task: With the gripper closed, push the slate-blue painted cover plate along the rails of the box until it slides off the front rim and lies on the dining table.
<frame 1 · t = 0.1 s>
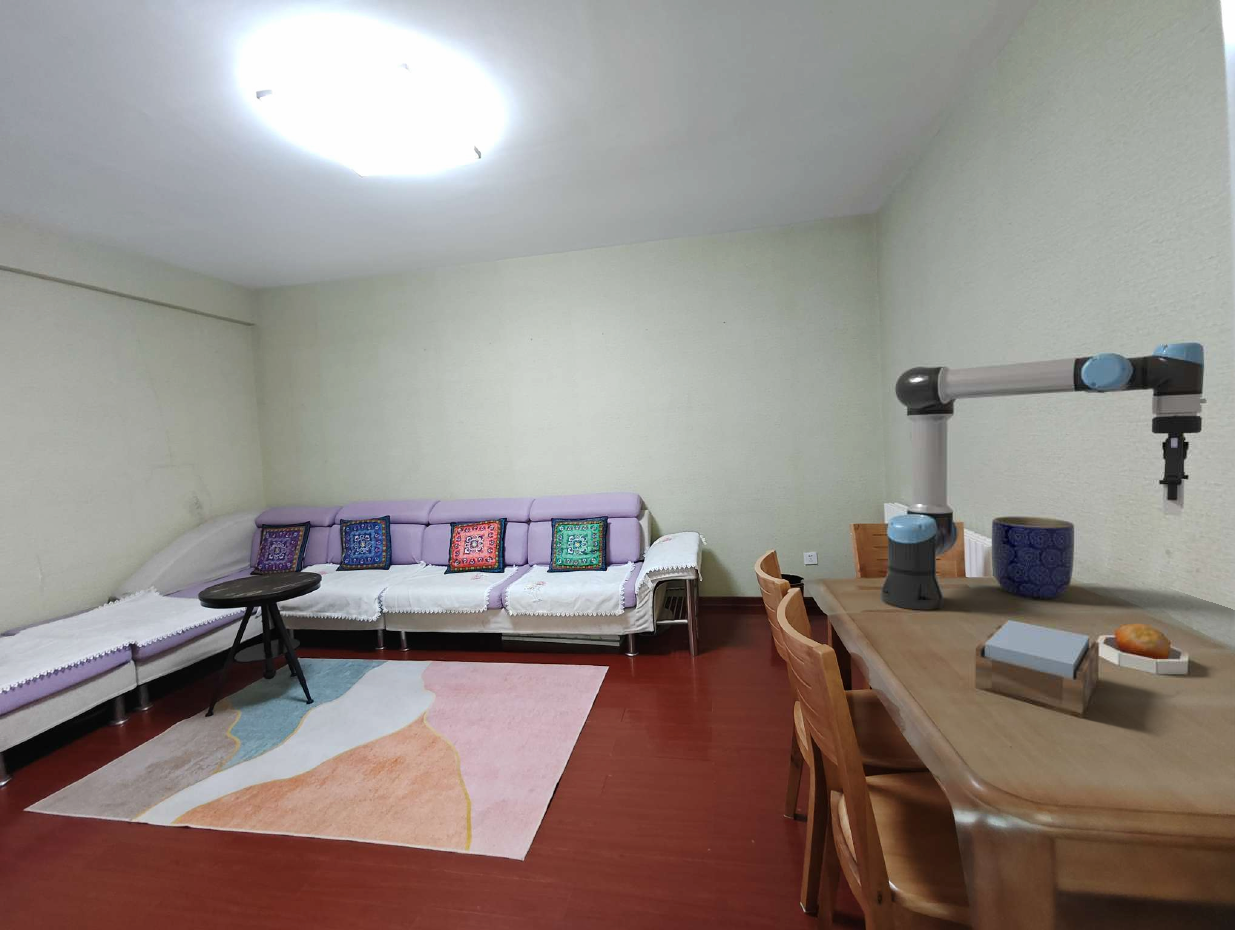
hand: (1173, 511, 118), 28 cm above the table, fingers open, 13 cm apart
planter: (1030, 593, 152), on the table
fruit ring: (1140, 659, 108), on the table
box: (1036, 684, 99), on the table
lid: (1037, 653, 98), point 6 cm above the table, touching box
fruit: (1140, 660, 108), on the table
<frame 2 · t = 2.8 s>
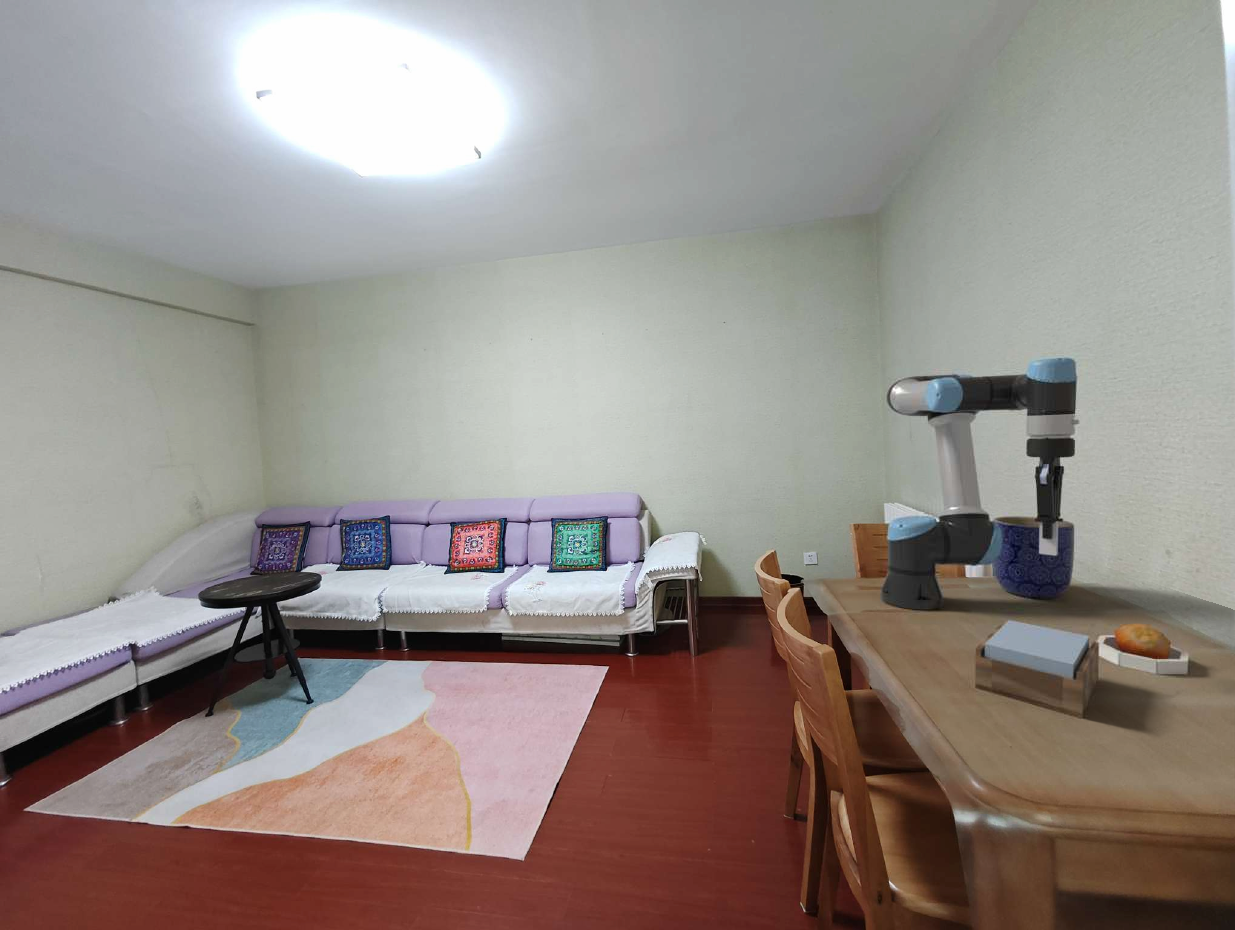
hand: (1048, 553, 107), 22 cm above the table, fingers closed
nothing on the table moved.
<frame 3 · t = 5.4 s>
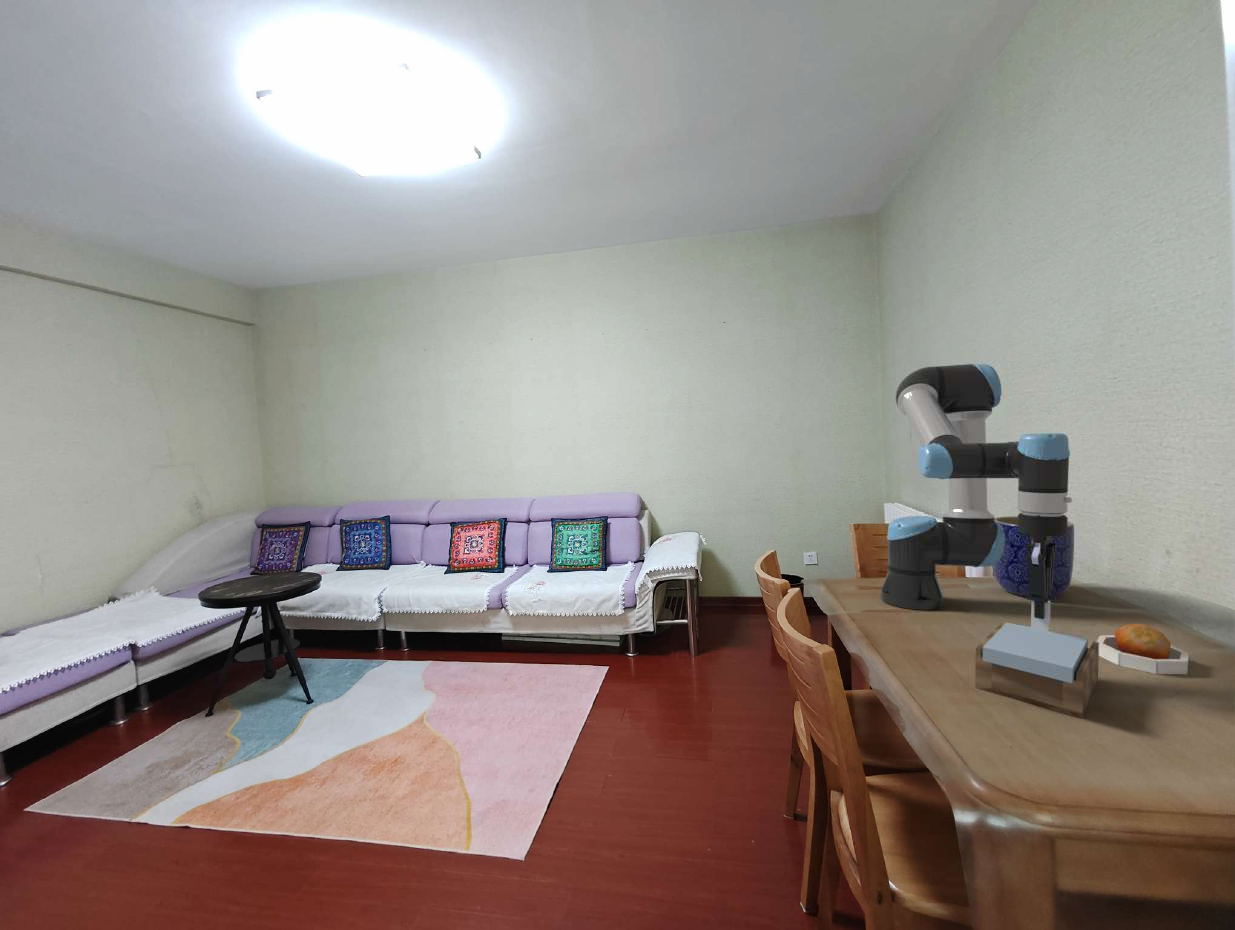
hand: (1040, 633, 104), 8 cm above the table, fingers closed
lid: (1035, 656, 97), point 6 cm above the table, touching box, gripper
everything else where it was.
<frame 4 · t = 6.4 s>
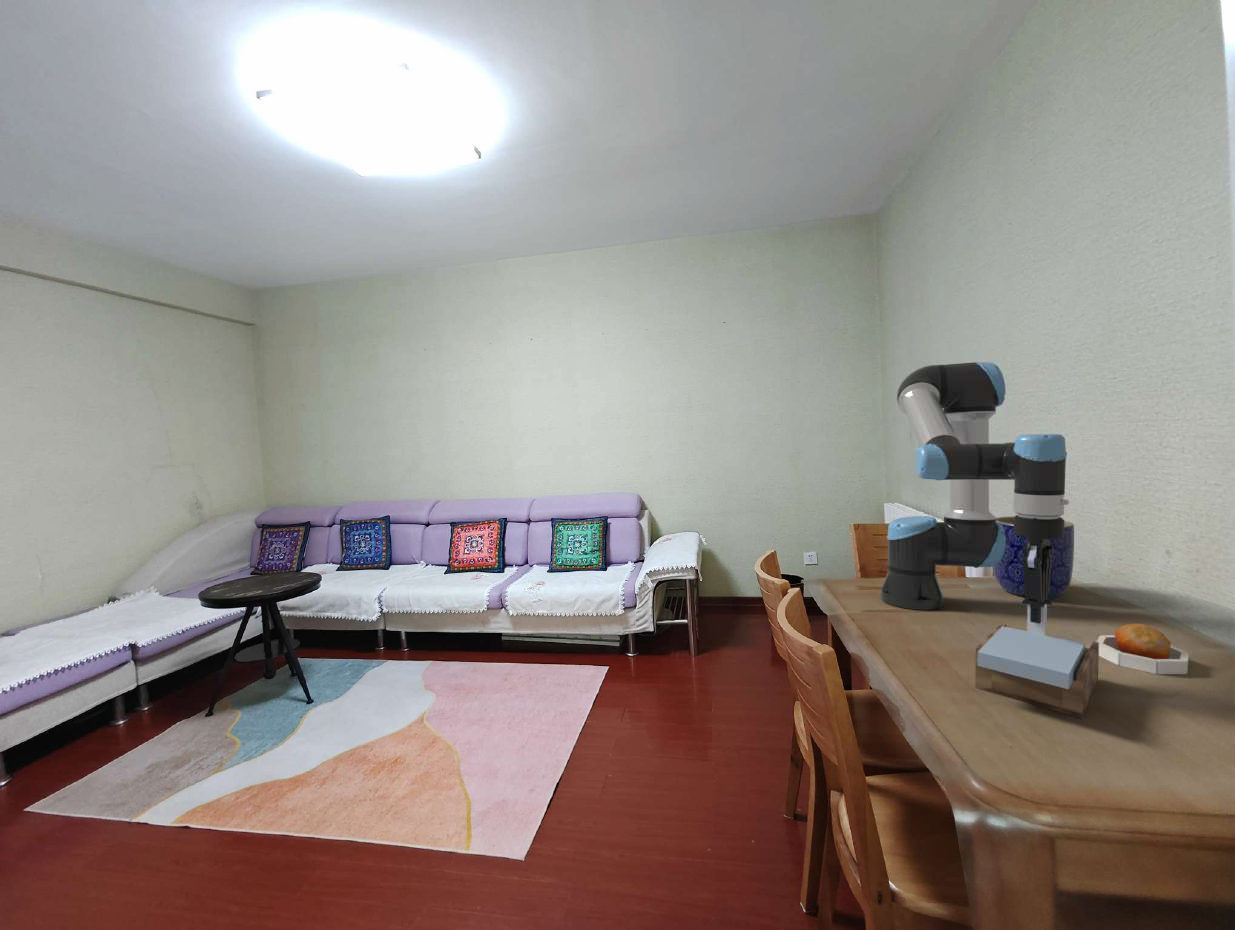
hand: (1036, 637, 102), 7 cm above the table, fingers closed
lid: (1031, 661, 95), point 6 cm above the table
everything else where it was.
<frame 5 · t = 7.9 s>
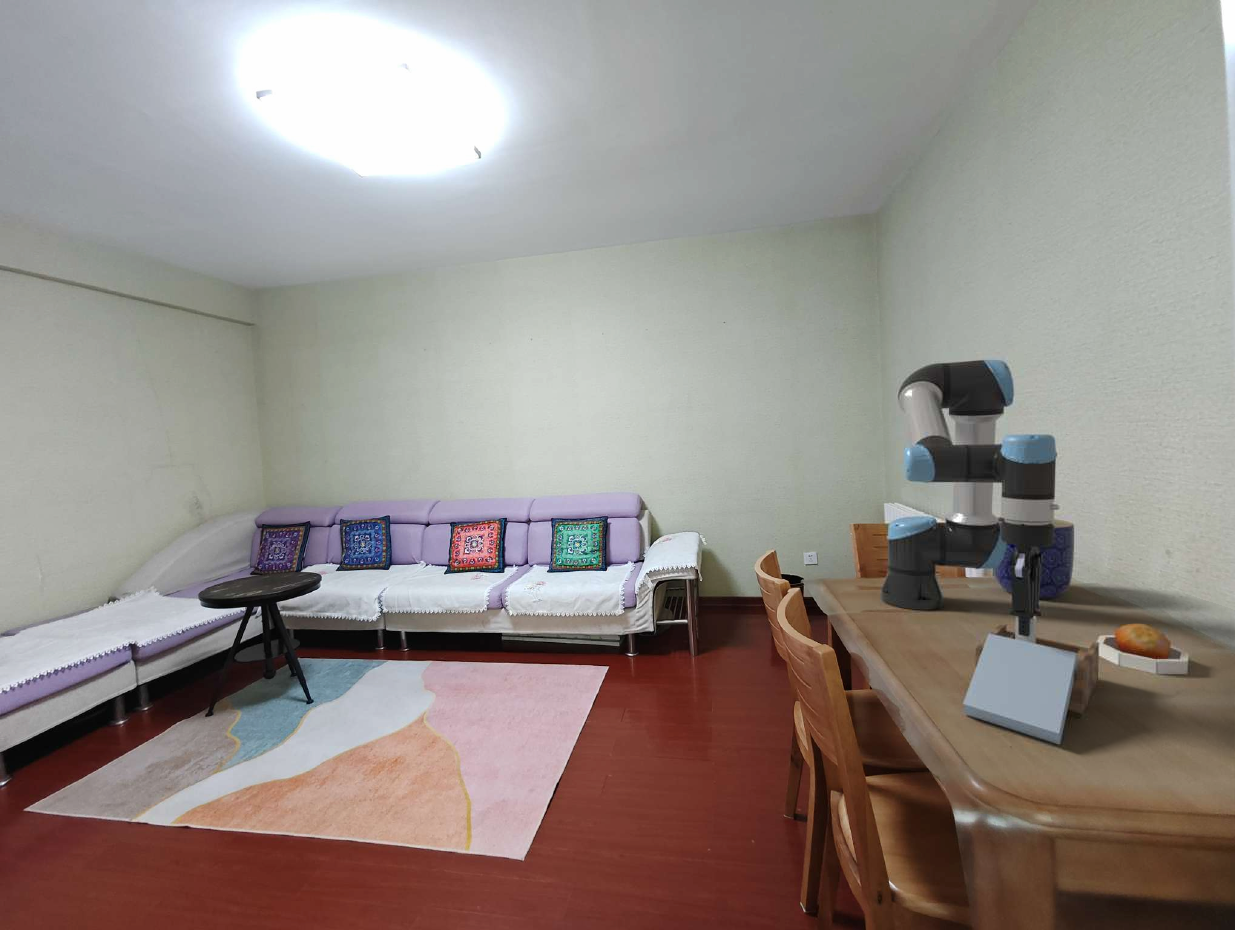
hand: (1025, 651, 96), 8 cm above the table, fingers closed
lid: (1021, 688, 90), point 4 cm above the table, tilted 27°, touching gripper
everything else where it was.
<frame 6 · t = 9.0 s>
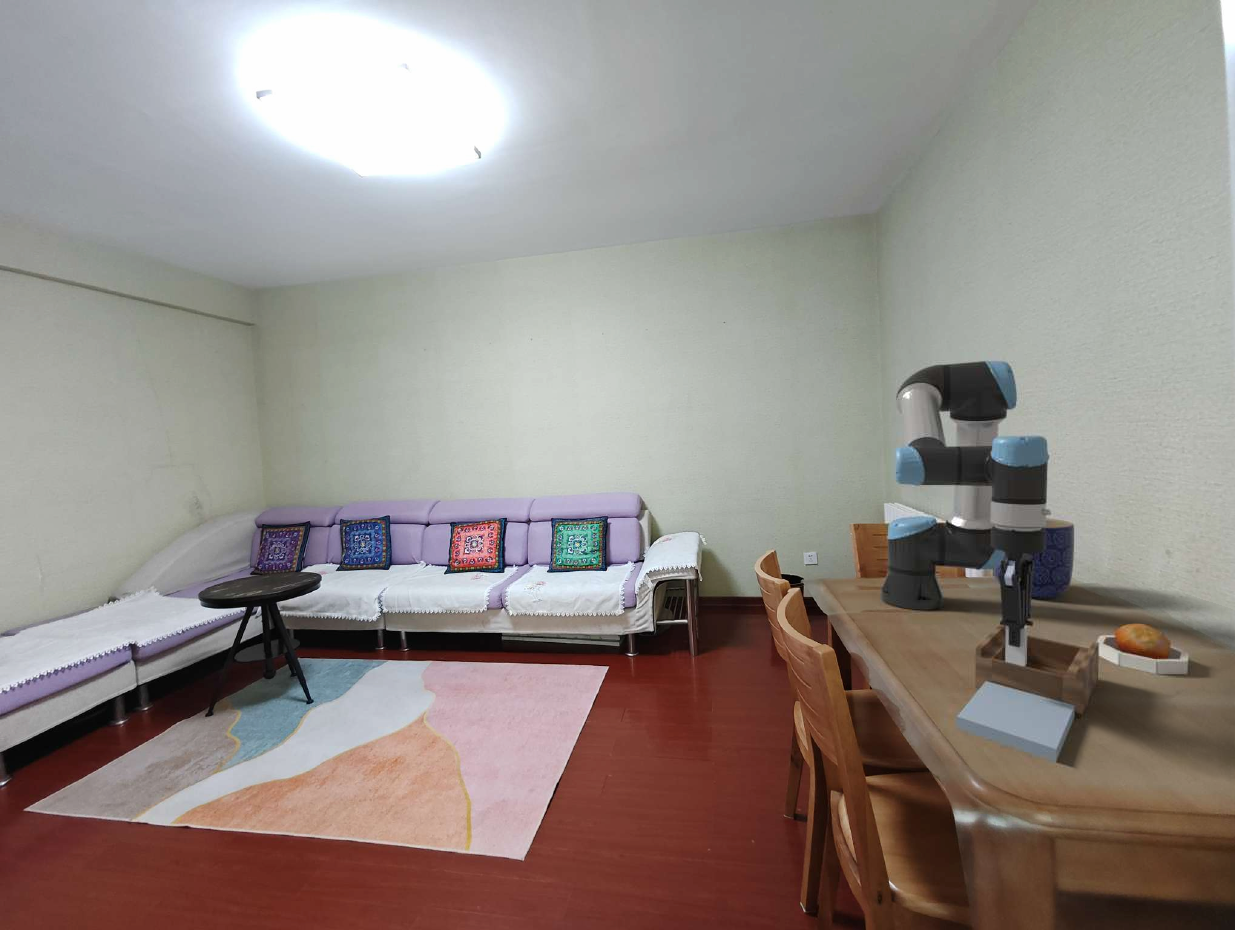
hand: (1015, 662, 92), 8 cm above the table, fingers closed
lid: (1016, 725, 87), on the table
everything else where it was.
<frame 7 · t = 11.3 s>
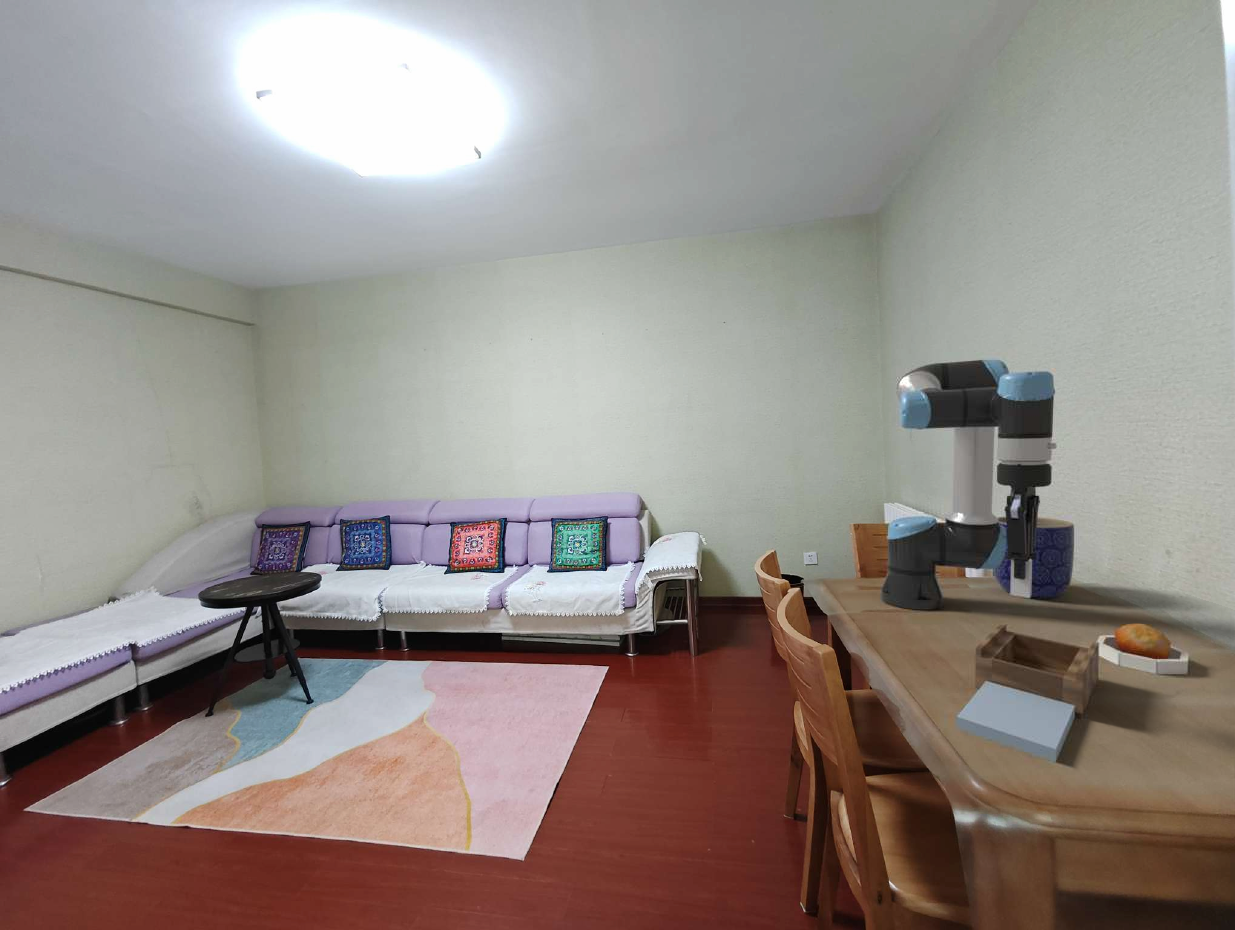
hand: (1020, 595, 94), 18 cm above the table, fingers closed
nothing on the table moved.
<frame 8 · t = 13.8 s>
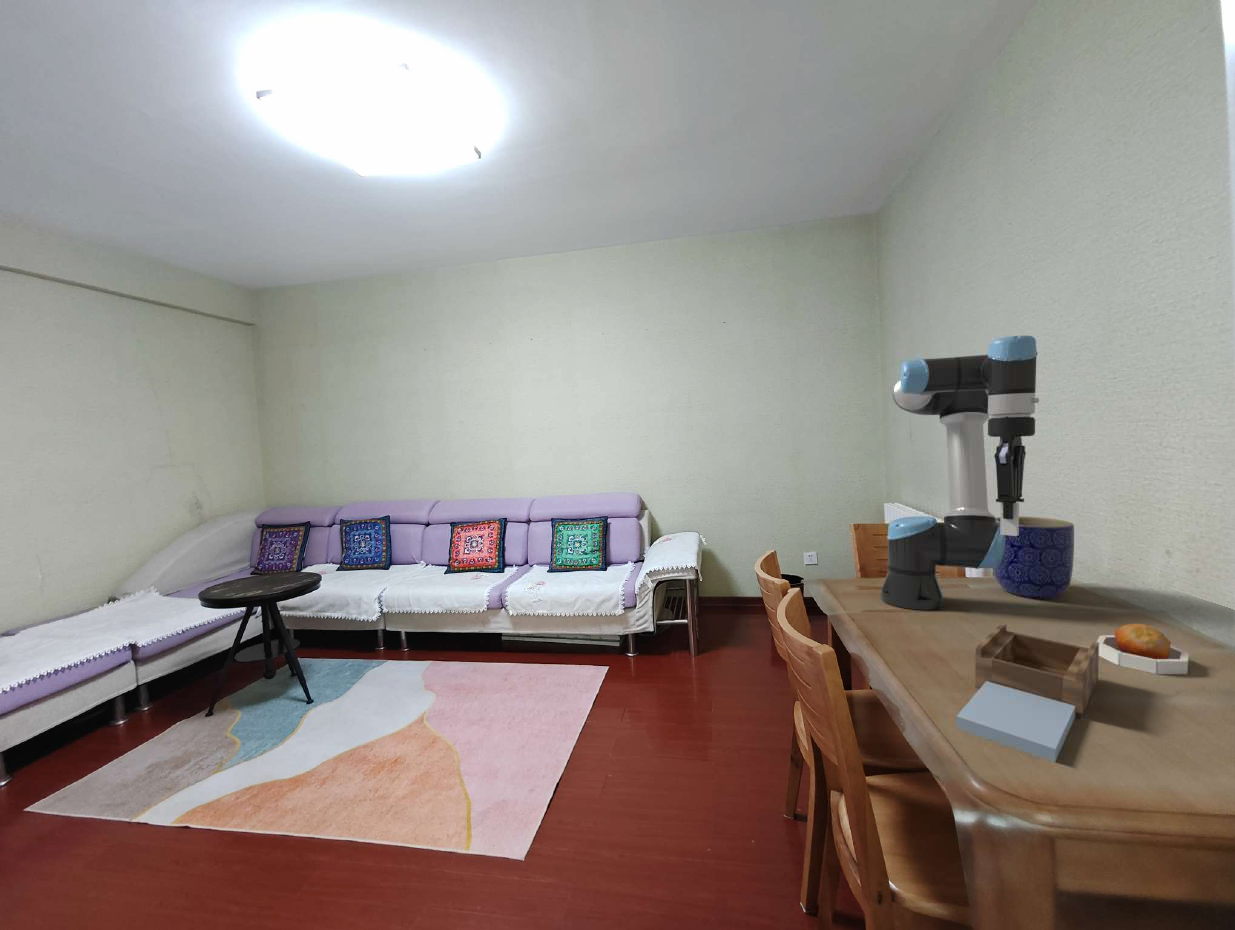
hand: (1009, 534, 106), 26 cm above the table, fingers closed
nothing on the table moved.
at the end: lid on the table; lid inside the target area (4.7 cm from its centre), on the table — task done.
